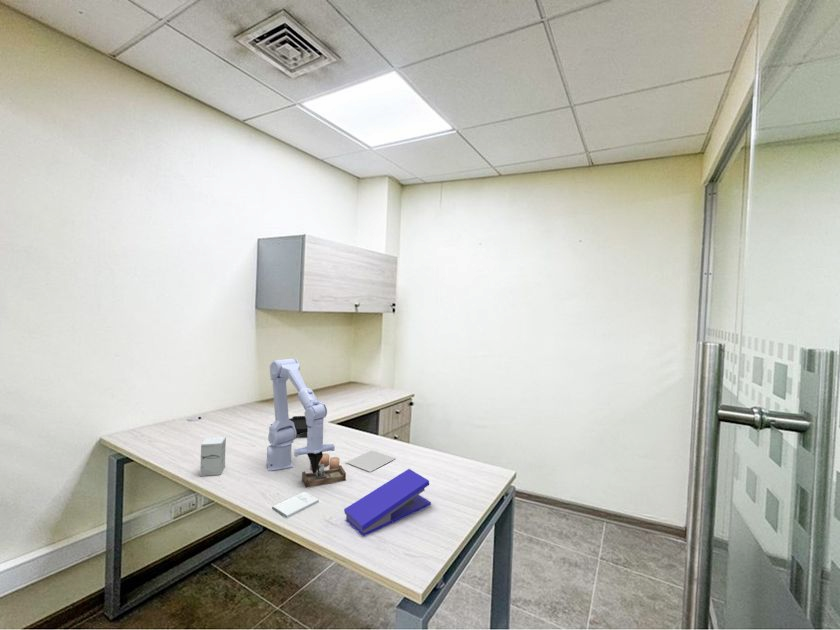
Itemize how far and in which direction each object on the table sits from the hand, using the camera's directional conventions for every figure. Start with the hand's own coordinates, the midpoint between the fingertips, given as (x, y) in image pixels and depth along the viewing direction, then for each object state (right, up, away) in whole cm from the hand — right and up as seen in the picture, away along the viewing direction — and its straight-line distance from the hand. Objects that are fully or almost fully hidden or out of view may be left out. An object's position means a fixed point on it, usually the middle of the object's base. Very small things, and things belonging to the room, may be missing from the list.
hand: (314, 471), depth 141 cm
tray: (-23, -1, +54) cm, 59 cm away
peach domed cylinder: (+5, -4, +12) cm, 13 cm away
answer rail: (+3, -4, +2) cm, 5 cm away
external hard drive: (-2, -5, -16) cm, 17 cm away
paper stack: (+20, -5, +14) cm, 25 cm away
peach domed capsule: (-3, -4, +11) cm, 12 cm away
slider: (+2, -3, +1) cm, 3 cm away
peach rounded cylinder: (0, -3, +15) cm, 15 cm away
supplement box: (-41, -2, +5) cm, 41 cm away
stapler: (+30, -6, -18) cm, 36 cm away
